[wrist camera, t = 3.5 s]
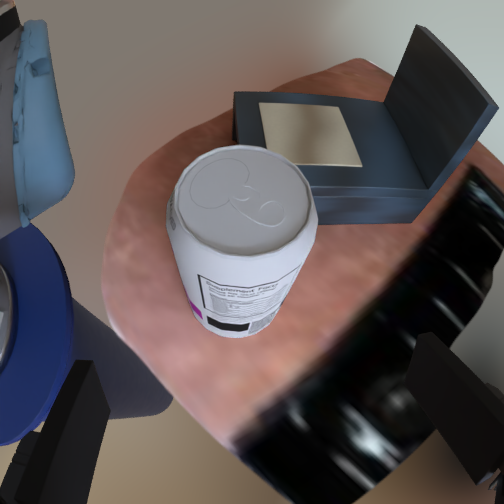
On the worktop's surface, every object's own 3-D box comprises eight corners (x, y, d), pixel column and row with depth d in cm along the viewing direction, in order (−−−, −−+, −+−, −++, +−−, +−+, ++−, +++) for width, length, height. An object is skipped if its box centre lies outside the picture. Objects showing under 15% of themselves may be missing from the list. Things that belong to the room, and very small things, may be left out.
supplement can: (171, 304, 28) (128, 209, 15) (225, 239, 32) (228, 119, 18) (245, 358, 27) (267, 306, 13) (295, 285, 30) (349, 184, 17)
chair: (239, 227, 33) (256, 61, 16) (231, 132, 39) (240, -6, 22) (411, 223, 35) (499, 107, 18) (376, 138, 41) (426, 27, 25)
